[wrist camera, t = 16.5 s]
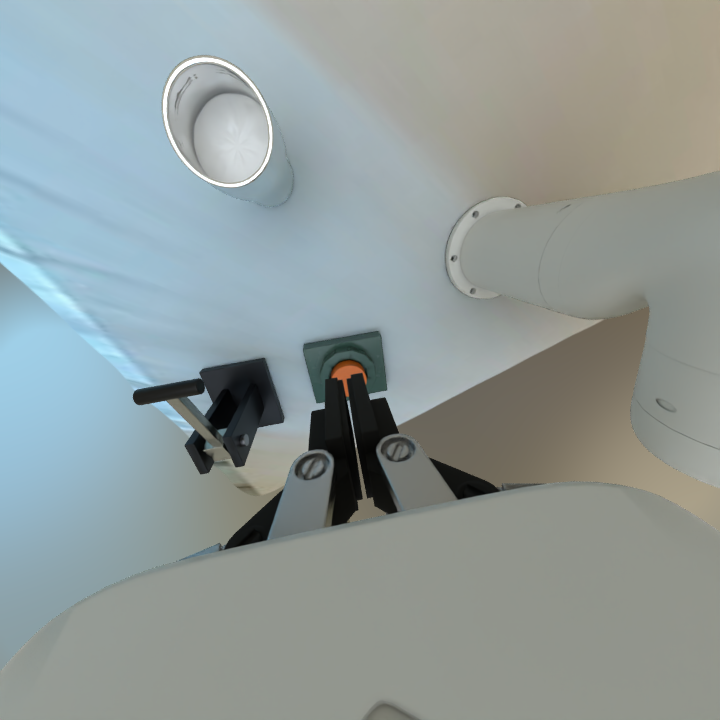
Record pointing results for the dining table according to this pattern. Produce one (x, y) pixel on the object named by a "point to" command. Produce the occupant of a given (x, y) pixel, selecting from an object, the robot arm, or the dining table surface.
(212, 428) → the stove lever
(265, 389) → the lever bracket
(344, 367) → the button
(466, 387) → the dining table surface
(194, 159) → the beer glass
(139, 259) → the dining table surface
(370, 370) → the block
